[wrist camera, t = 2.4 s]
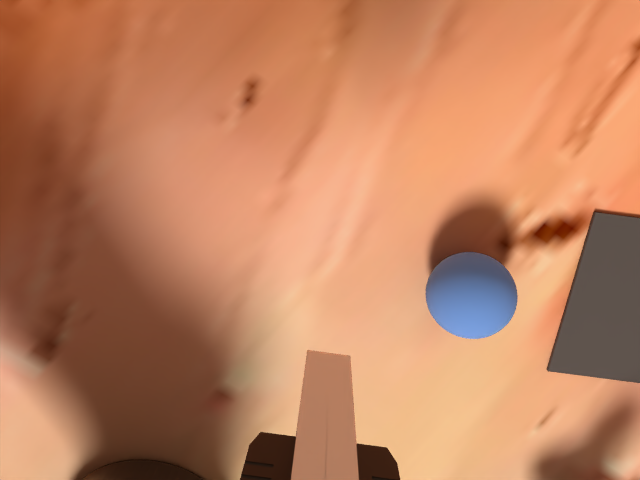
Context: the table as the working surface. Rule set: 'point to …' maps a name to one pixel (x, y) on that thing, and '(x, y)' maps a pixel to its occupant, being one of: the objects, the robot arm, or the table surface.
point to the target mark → (603, 305)
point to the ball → (471, 295)
